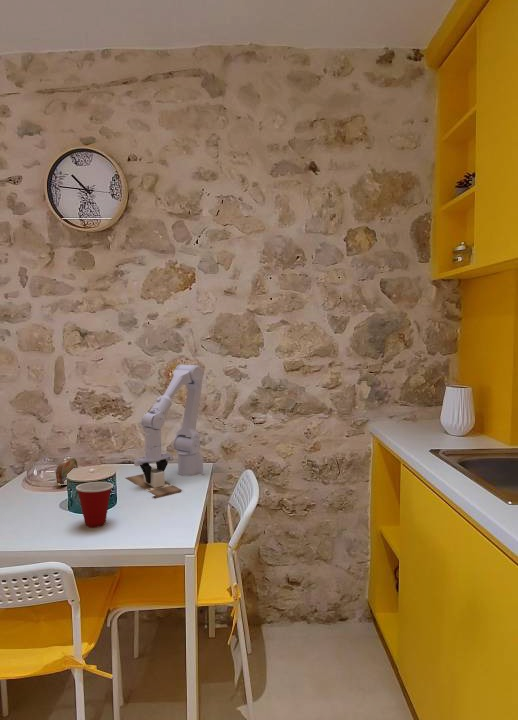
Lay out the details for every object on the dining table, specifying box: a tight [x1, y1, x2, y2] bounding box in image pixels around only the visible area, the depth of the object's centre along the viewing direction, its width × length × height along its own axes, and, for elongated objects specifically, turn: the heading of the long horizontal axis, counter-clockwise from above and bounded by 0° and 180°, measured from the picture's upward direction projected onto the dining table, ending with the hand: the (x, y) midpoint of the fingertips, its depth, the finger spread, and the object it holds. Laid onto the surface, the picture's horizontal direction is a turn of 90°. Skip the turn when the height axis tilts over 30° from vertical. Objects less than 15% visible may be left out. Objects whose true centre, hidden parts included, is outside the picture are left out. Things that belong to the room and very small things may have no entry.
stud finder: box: [144, 466, 166, 488], centre depth 184 cm, size 4×9×5 cm, turn 38°
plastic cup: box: [75, 481, 114, 528], centre depth 151 cm, size 11×11×12 cm
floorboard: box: [125, 473, 182, 499], centre depth 186 cm, size 10×26×1 cm, turn 39°
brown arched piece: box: [55, 458, 79, 484], centre depth 191 cm, size 15×3×8 cm, turn 179°
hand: (154, 481), depth 184 cm, fingers closed on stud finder, 4 cm apart
